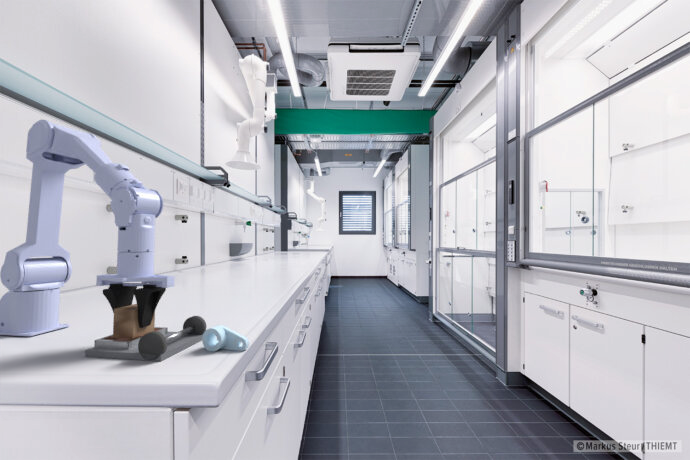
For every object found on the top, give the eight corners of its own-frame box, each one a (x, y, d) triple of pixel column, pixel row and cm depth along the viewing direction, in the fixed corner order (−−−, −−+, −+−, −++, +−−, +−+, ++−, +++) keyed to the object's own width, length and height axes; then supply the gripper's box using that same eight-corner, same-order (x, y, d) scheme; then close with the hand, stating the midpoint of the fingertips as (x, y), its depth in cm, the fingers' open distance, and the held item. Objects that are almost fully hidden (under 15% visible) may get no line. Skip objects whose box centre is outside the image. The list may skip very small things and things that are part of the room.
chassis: (85, 356, 52) (86, 329, 52) (142, 335, 64) (142, 313, 64) (162, 361, 50) (162, 333, 50) (206, 338, 62) (206, 316, 62)
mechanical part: (200, 348, 55) (204, 325, 55) (210, 343, 58) (213, 322, 58) (238, 360, 53) (242, 337, 53) (247, 355, 55) (250, 333, 55)
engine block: (112, 337, 55) (114, 309, 55) (135, 329, 60) (136, 303, 60) (133, 338, 55) (134, 309, 55) (154, 330, 60) (155, 304, 60)
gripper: (81, 252, 55) (78, 329, 54) (155, 253, 53) (152, 333, 52) (116, 251, 62) (113, 320, 61) (182, 251, 60) (180, 323, 59)
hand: (133, 325), depth 57 cm, fingers closed on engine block, 4 cm apart
